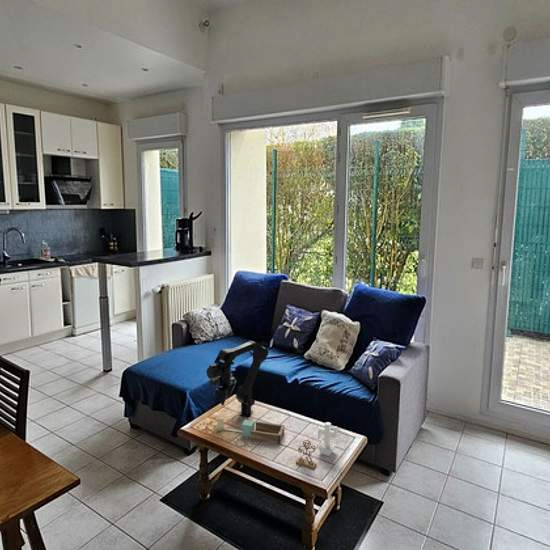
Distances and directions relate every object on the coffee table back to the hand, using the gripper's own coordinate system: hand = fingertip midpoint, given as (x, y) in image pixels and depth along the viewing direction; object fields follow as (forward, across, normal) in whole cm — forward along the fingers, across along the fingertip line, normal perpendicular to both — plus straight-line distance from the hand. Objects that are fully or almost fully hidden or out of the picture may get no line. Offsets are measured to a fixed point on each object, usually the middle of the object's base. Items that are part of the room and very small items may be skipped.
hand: (225, 401), depth 224 cm
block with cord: (+12, +8, +8) cm, 16 cm away
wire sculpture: (+12, +26, +48) cm, 56 cm away
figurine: (+12, +14, +56) cm, 59 cm away
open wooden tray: (+12, +8, +25) cm, 29 cm away
